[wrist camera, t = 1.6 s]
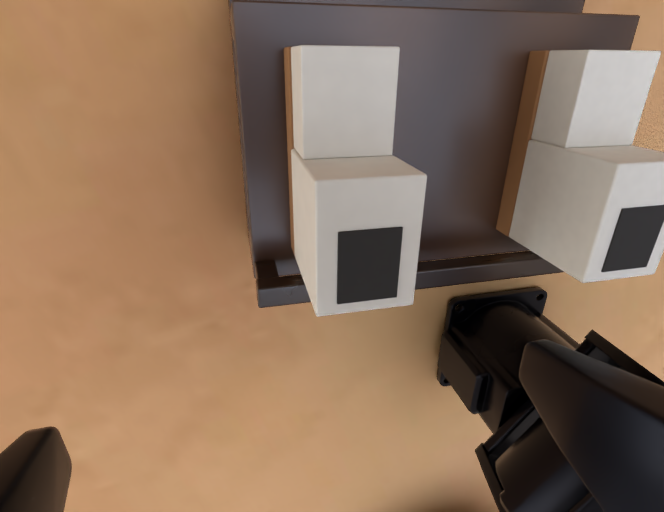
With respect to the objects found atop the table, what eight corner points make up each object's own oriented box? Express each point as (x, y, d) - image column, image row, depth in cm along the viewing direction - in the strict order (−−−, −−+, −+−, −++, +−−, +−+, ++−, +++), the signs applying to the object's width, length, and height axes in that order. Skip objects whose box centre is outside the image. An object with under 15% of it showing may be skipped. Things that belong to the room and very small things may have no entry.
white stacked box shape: (363, 240, 17) (414, 306, 12) (291, 247, 16) (316, 319, 12) (373, 48, 14) (444, 44, 9) (283, 47, 13) (313, 41, 9)
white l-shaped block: (554, 224, 19) (656, 275, 14) (495, 229, 18) (583, 285, 14) (598, 51, 16) (746, 49, 11) (529, 51, 15) (657, 47, 11)
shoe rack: (625, -275, 15) (863, -472, 9) (519, 216, 23) (613, 266, 18) (196, -369, 12) (173, -751, 6) (248, 238, 20) (258, 309, 14)
